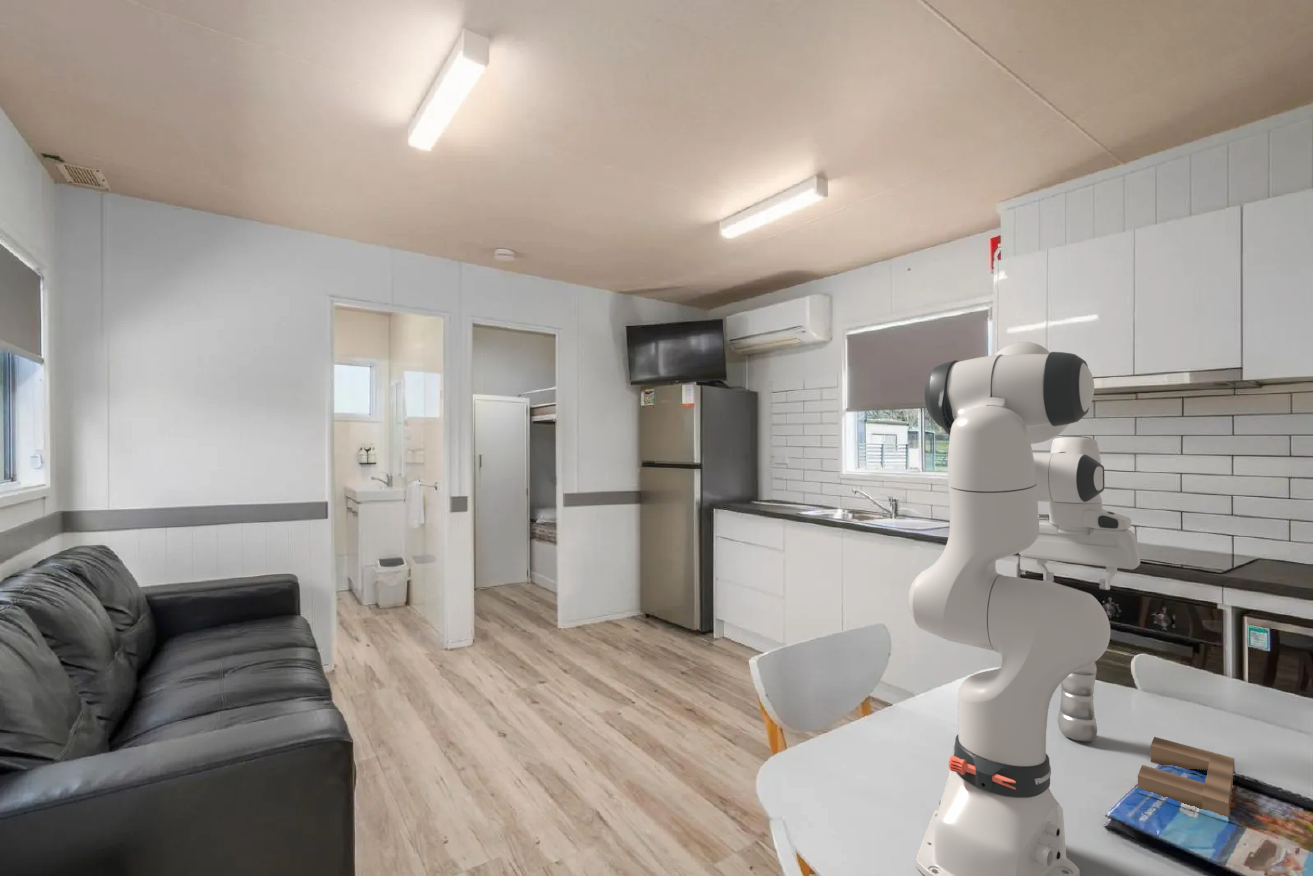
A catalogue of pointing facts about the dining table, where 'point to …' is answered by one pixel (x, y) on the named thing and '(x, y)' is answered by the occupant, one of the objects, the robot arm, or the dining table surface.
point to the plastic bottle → (1078, 705)
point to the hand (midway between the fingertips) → (1075, 585)
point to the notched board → (1184, 789)
